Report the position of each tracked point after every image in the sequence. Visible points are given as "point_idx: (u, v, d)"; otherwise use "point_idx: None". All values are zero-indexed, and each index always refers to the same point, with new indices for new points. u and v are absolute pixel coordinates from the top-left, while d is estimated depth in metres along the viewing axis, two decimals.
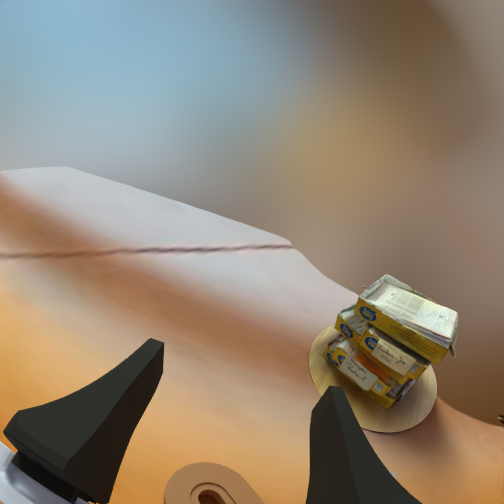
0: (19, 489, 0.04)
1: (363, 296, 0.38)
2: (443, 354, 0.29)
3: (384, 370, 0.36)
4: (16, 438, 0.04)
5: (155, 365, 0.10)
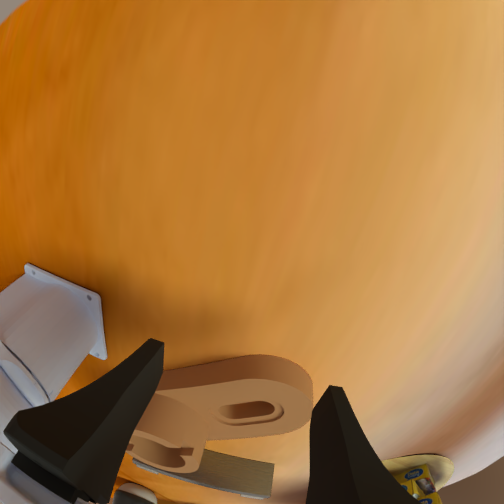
0: (19, 489, 0.04)
1: None
2: None
3: None
4: (16, 438, 0.04)
5: (155, 365, 0.10)
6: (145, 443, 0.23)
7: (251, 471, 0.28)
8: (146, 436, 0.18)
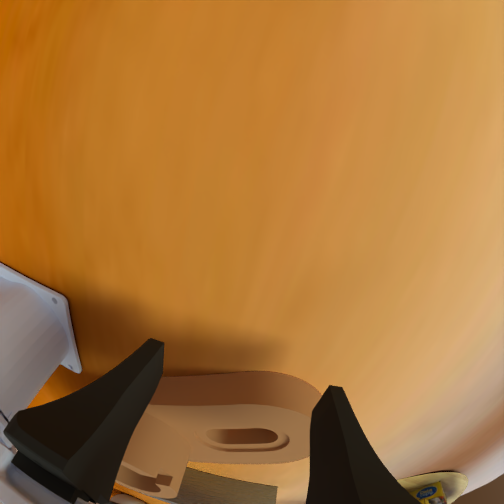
0: (19, 489, 0.04)
1: None
2: None
3: None
4: (16, 438, 0.04)
5: (155, 365, 0.10)
6: None
7: (251, 495, 0.23)
8: None
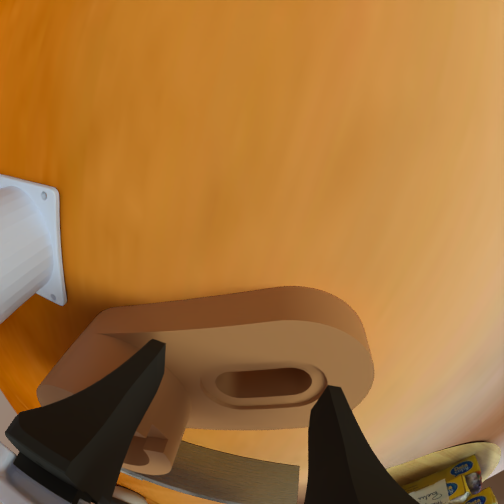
0: (19, 489, 0.04)
1: None
2: None
3: None
4: (18, 440, 0.04)
5: (157, 366, 0.10)
6: None
7: (269, 477, 0.20)
8: None
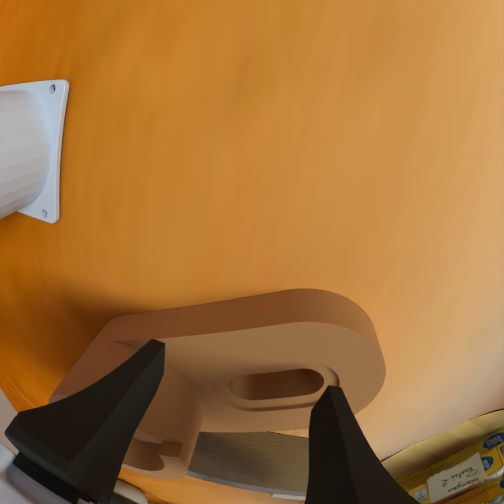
0: (19, 489, 0.04)
1: None
2: None
3: None
4: (17, 439, 0.04)
5: (156, 366, 0.10)
6: None
7: (292, 454, 0.18)
8: None
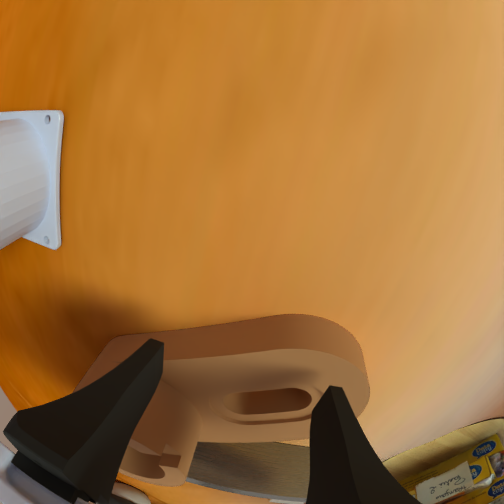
0: (19, 489, 0.04)
1: None
2: None
3: None
4: (16, 438, 0.04)
5: (155, 365, 0.10)
6: None
7: (288, 461, 0.18)
8: None
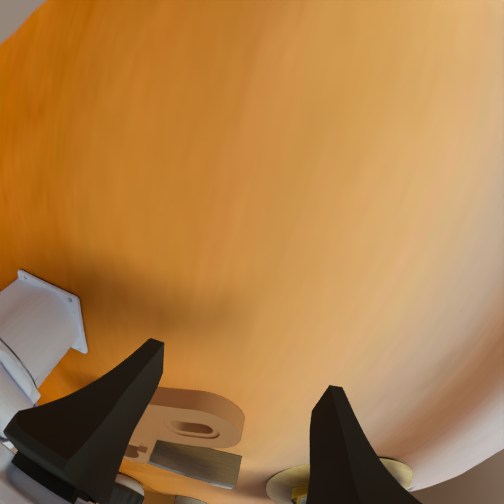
0: (19, 489, 0.04)
1: None
2: None
3: None
4: (16, 438, 0.04)
5: (155, 365, 0.10)
6: None
7: (219, 461, 0.31)
8: None
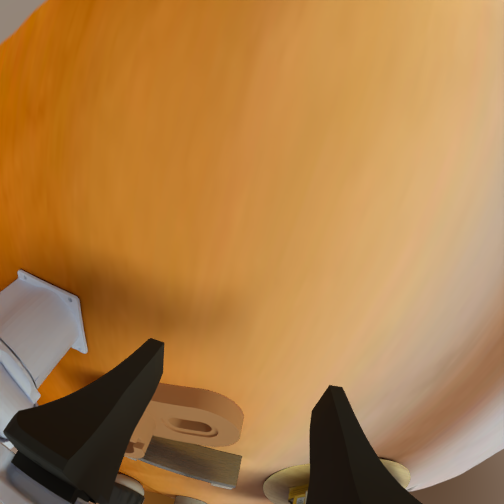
0: (19, 489, 0.04)
1: None
2: None
3: None
4: (16, 438, 0.04)
5: (155, 365, 0.10)
6: None
7: (219, 461, 0.31)
8: None
